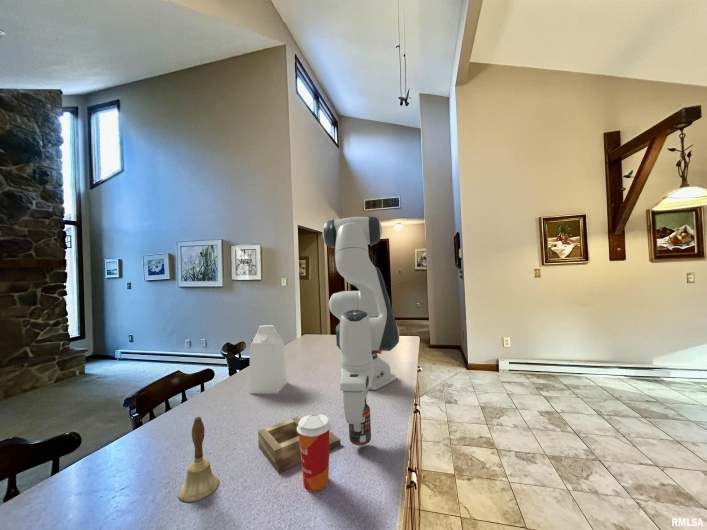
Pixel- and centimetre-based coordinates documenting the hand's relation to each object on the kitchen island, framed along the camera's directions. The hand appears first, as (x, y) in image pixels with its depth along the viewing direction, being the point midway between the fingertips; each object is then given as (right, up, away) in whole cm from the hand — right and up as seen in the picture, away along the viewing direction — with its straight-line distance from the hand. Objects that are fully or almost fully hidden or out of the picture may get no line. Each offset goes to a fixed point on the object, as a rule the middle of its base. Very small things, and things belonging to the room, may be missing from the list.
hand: (359, 422), depth 81 cm
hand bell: (-37, -8, -13) cm, 40 cm away
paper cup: (-10, -7, -13) cm, 18 cm away
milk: (-37, -9, +45) cm, 59 cm away
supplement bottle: (0, -5, 0) cm, 5 cm away
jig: (-17, -7, +2) cm, 18 cm away
